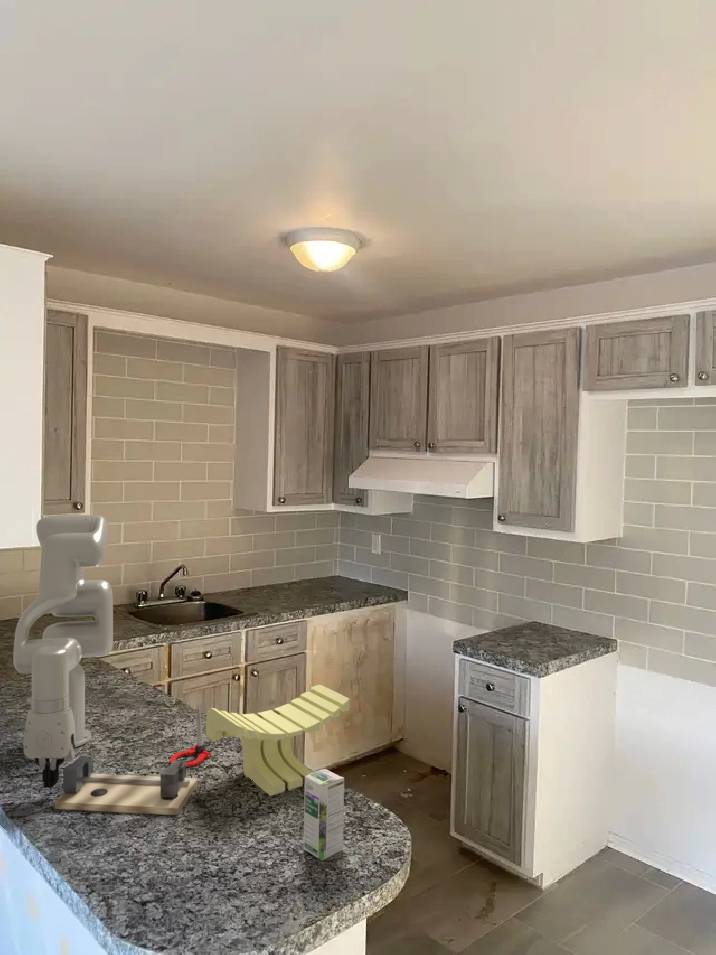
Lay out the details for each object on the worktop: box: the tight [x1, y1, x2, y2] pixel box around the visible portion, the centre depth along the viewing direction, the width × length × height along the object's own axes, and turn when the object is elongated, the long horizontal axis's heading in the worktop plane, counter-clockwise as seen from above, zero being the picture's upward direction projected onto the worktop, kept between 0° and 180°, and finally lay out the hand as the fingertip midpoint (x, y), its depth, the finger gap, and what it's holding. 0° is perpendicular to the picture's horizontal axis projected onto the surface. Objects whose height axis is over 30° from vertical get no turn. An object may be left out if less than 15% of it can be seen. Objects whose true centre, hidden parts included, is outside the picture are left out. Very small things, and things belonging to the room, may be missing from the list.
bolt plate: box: [54, 760, 199, 816], centre depth 160 cm, size 27×14×7 cm, turn 85°
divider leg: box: [62, 755, 94, 793], centre depth 161 cm, size 3×8×5 cm, turn 175°
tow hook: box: [169, 704, 212, 768], centre depth 179 cm, size 8×13×9 cm
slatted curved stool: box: [205, 684, 351, 797], centre depth 171 cm, size 30×16×18 cm, turn 126°
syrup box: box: [303, 768, 345, 862], centre depth 139 cm, size 6×6×14 cm
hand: (50, 785), depth 159 cm, fingers closed
